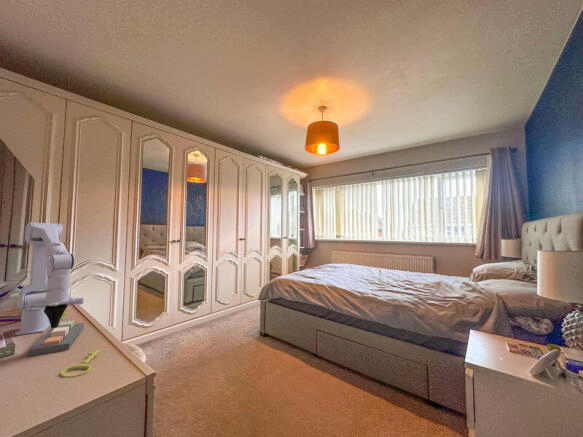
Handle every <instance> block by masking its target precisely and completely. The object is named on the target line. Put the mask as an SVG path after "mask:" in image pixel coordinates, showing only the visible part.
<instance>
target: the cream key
mask: <svg viewBox="0 0 583 437" xmlns="http://www.w3.org/2000/svg"><path fill="white" fill-rule="evenodd" d="M68 333H69V326H67V327H60V328H55V329H54V330H53V331H52V332H51V337H56V336H66V335H67V334H68Z"/></svg>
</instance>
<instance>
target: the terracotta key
mask: <svg viewBox="0 0 583 437" xmlns="http://www.w3.org/2000/svg"><path fill="white" fill-rule="evenodd" d="M62 340H63V336H56V337H49V338H47V339H46V340H45V341H44V342H43V346H46V345H53V344H59V343H61V342H62Z"/></svg>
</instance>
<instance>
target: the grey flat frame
mask: <svg viewBox="0 0 583 437" xmlns="http://www.w3.org/2000/svg"><path fill="white" fill-rule="evenodd" d="M54 329H55V328H51V327H50V328H49V329H48V330H47V331H46V332H45V333H44V334H43V335H42V336H41V337H40V338H39V339H38V340H37V341H36V342H35V343H34V344H33V345H31V347H29V349H28V352H27V353H28V354H27V357H34V356H39V355H45V354H51V353H57V352H65V351H70V349H71V347H72V346H73V344H74V343H75V342H76V340H77V339H78V338H79V336H80V334H81V333H82V332H83V330H84V329H85V322H81V323H74V327H73V328H72V329H70V330H69V333H68V334H67V335H66V336H63V340H62V342H61V343H59V344H53V345H46V346H43V342H44V341H45V340H46V339H47V338H49V337H51V332H52V331H53V330H54Z"/></svg>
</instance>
